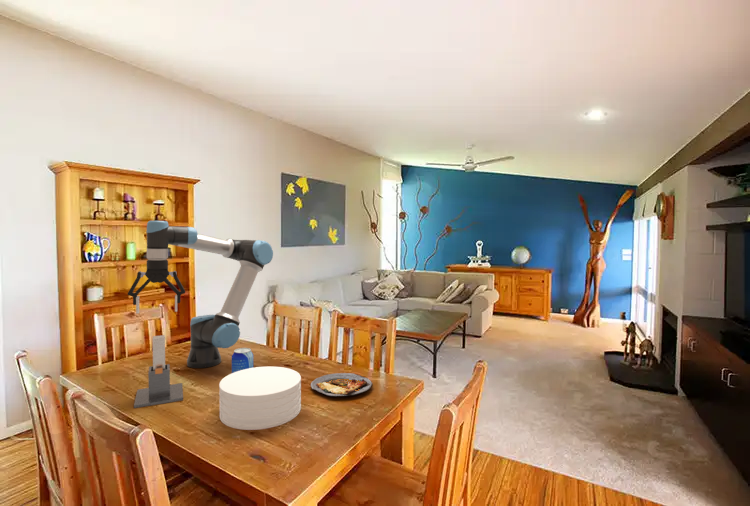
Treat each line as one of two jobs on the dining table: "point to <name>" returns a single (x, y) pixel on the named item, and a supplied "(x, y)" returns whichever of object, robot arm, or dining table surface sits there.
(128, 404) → the dining table surface
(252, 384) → the plate stack
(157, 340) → the column
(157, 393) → the stand
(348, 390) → the food plate
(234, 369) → the beer can
